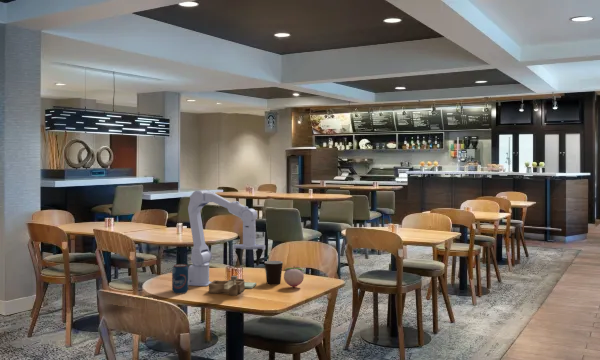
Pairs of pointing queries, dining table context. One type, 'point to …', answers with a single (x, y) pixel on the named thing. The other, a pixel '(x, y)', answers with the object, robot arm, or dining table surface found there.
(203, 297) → the dining table surface
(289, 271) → the decorative fruit
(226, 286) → the key
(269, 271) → the coffee mug
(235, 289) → the toolbox
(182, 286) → the soda can
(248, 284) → the lid
